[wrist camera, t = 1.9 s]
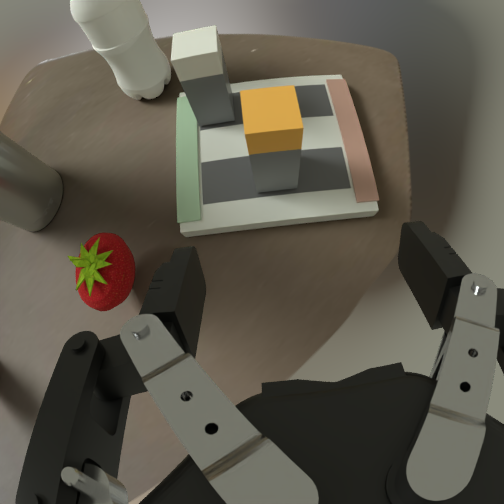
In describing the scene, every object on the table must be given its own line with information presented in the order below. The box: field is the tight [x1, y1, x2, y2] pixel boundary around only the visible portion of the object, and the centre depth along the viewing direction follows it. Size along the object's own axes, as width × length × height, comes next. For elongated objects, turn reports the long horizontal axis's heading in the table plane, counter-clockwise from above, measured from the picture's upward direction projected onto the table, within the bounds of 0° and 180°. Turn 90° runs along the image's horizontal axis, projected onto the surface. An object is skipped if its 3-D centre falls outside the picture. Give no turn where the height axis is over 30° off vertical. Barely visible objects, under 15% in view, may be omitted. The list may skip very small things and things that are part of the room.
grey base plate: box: [171, 25, 379, 237], centre depth 28 cm, size 20×18×13 cm
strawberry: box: [68, 233, 135, 311], centre depth 28 cm, size 6×8×10 cm
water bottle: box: [70, 0, 171, 100], centre depth 26 cm, size 7×7×25 cm
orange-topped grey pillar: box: [240, 85, 304, 193], centre depth 26 cm, size 4×4×11 cm
